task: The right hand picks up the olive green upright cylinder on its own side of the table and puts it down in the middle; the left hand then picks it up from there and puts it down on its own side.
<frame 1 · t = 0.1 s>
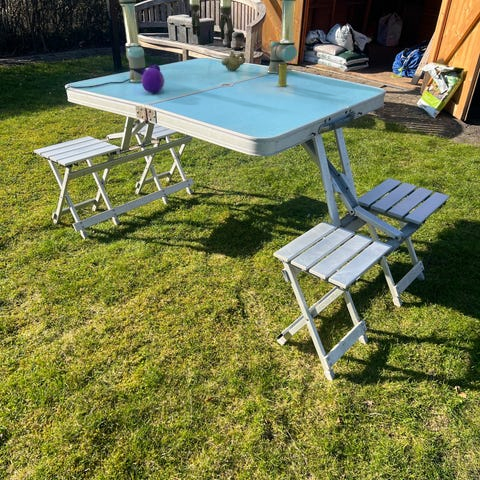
left hand: (196, 35, 349), 28 cm above the table, tool pointing down, fingers open, 13 cm apart
right hand: (226, 40, 318), 28 cm above the table, tool pointing down, fingers open, 13 cm apart
teapot: (233, 71, 369), on the table
toy: (151, 91, 308), on the table
olive green upright cylinder: (282, 85, 316), on the table
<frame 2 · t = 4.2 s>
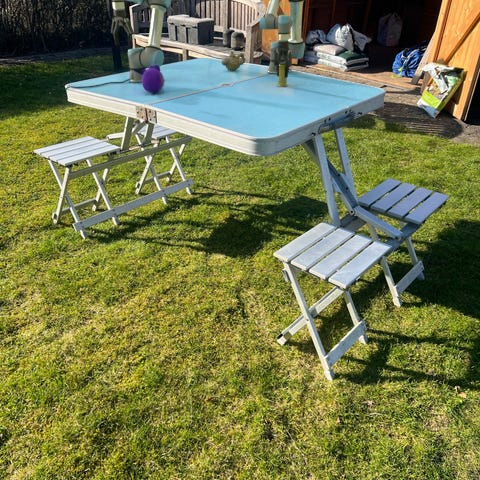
left hand: (124, 45, 296), 29 cm above the table, tool pointing down, fingers open, 13 cm apart
right hand: (282, 76, 312), 6 cm above the table, tool pointing down, fingers closed on olive green upright cylinder, 5 cm apart
olive green upright cylinder: (282, 85, 316), on the table, touching right hand
everything else where it was.
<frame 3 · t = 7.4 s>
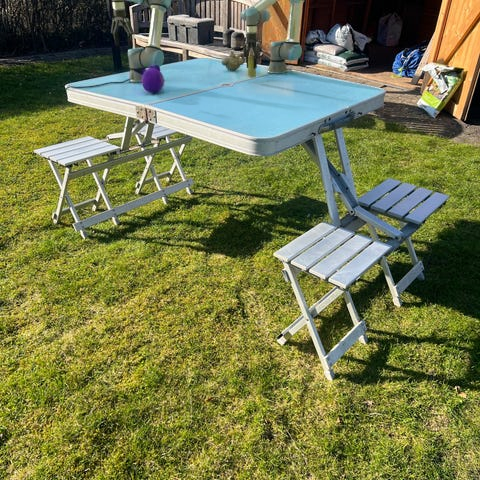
left hand: (124, 45, 296), 29 cm above the table, tool pointing down, fingers open, 13 cm apart
right hand: (251, 67, 323), 10 cm above the table, tool pointing down, fingers closed on olive green upright cylinder, 5 cm apart
olive green upright cylinder: (251, 76, 326), point 4 cm above the table, touching right hand
everything else where it was.
when the right hand's fingers open (8 cm above the table, at t = 10.9 s): olive green upright cylinder drops 1 cm, on the table.
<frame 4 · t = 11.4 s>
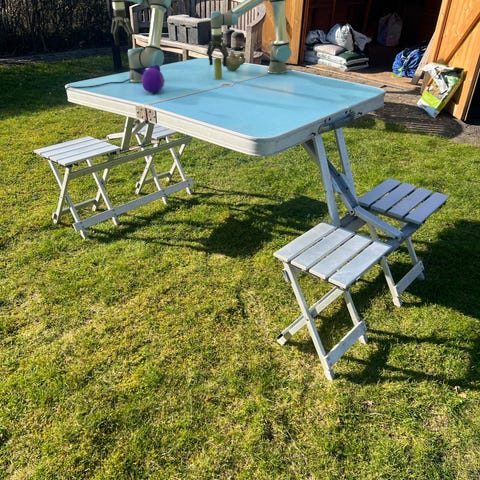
left hand: (124, 45, 296), 29 cm above the table, tool pointing down, fingers open, 13 cm apart
right hand: (217, 65, 338), 9 cm above the table, tool pointing down, fingers open, 13 cm apart
olive green upright cylinder: (218, 78, 342), on the table
everything else where it was.
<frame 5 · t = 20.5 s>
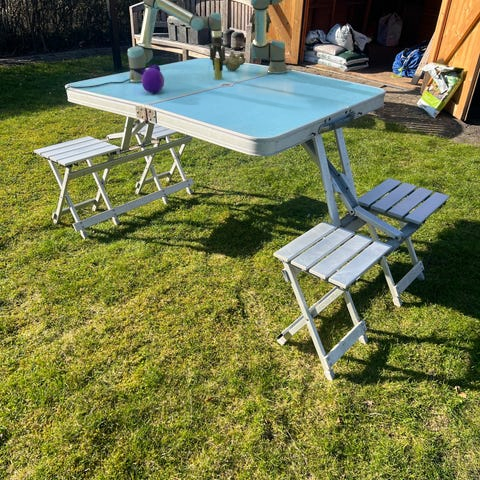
left hand: (218, 70, 339), 6 cm above the table, tool pointing down, fingers closed on olive green upright cylinder, 5 cm apart
right hand: (260, 32, 374), 27 cm above the table, tool pointing down, fingers open, 13 cm apart
olive green upright cylinder: (218, 78, 342), on the table, touching left hand
everything else where it was.
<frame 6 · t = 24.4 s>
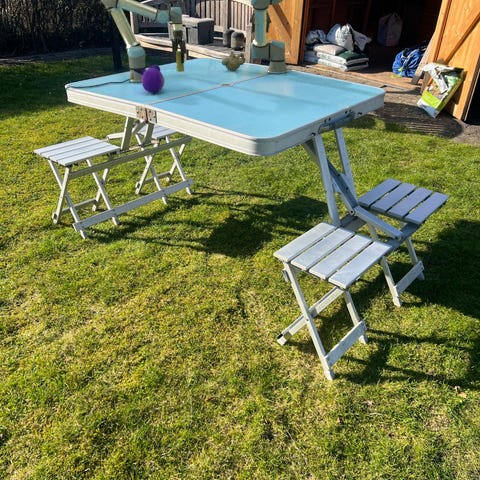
left hand: (179, 62, 350), 10 cm above the table, tool pointing down, fingers closed on olive green upright cylinder, 5 cm apart
right hand: (260, 32, 374), 27 cm above the table, tool pointing down, fingers open, 13 cm apart
olive green upright cylinder: (180, 71, 353), point 4 cm above the table, touching left hand
everything else where it was.
when the left hand's fingers open (8 cm above the table, at t = 28.4 s): olive green upright cylinder drops 1 cm, on the table.
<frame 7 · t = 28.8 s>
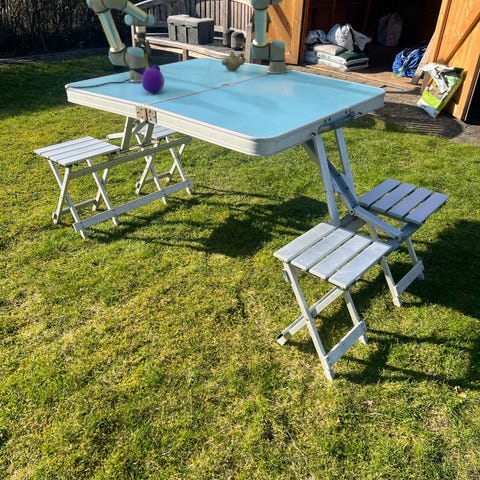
left hand: (144, 61, 364), 9 cm above the table, tool pointing down, fingers open, 11 cm apart
right hand: (260, 32, 374), 27 cm above the table, tool pointing down, fingers open, 13 cm apart
olive green upright cylinder: (145, 73, 368), on the table
everything else where it was.
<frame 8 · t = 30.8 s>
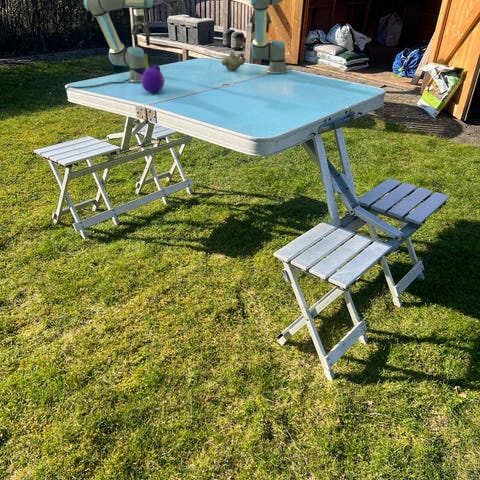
left hand: (142, 45, 358), 21 cm above the table, tool pointing down, fingers open, 13 cm apart
right hand: (260, 32, 374), 27 cm above the table, tool pointing down, fingers open, 13 cm apart
nothing on the table moved.
at the end: olive green upright cylinder inside the target area (0.0 cm from its centre), on the table; olive green upright cylinder tilted 0°; the two hands never held the olive green upright cylinder at the same time; the left hand is holding nothing; the right hand is holding nothing; olive green upright cylinder at rest at the end (0.0 cm/s) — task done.
